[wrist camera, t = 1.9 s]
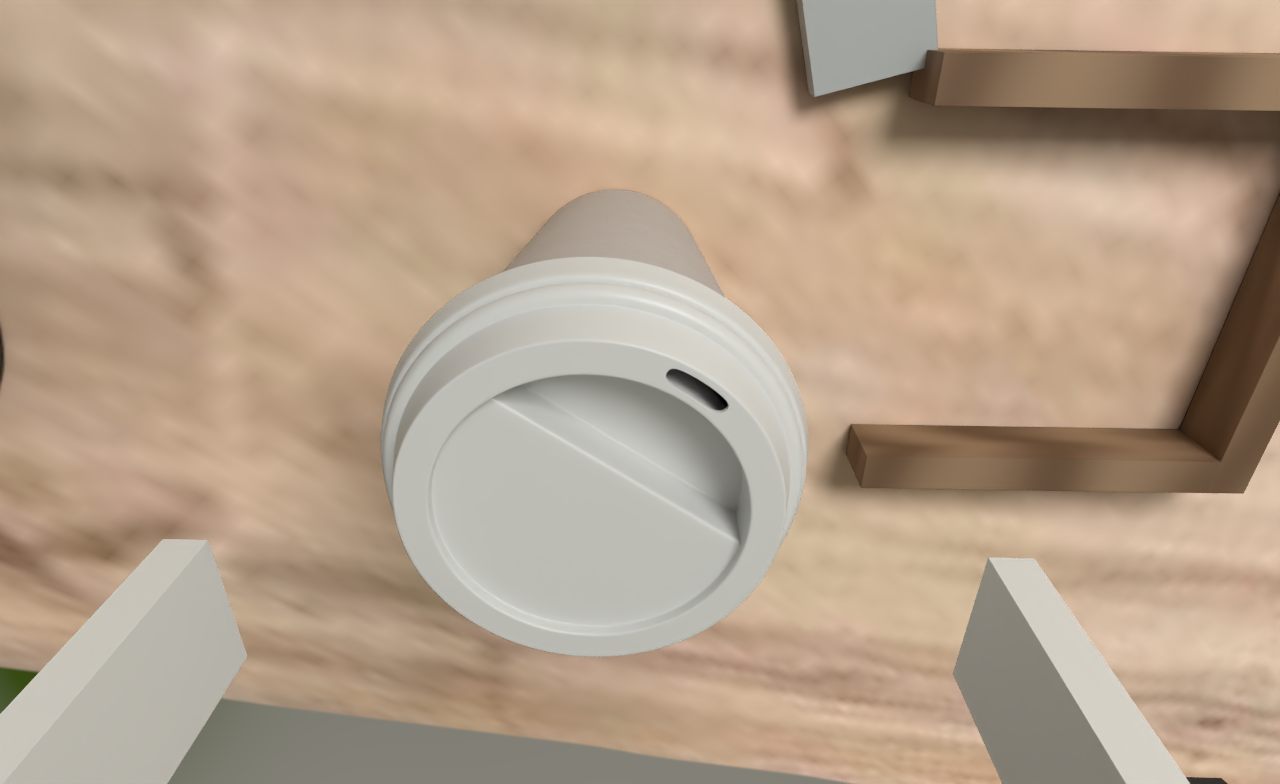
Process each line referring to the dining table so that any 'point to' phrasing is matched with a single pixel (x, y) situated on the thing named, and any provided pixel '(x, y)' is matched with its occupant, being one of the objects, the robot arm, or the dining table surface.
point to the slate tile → (864, 40)
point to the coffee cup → (595, 439)
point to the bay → (1242, 358)
